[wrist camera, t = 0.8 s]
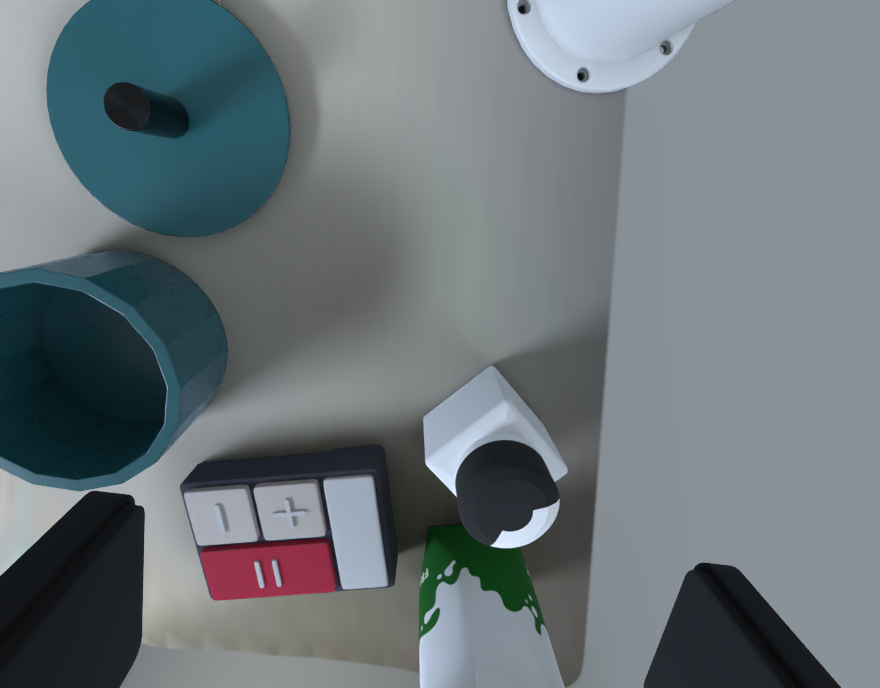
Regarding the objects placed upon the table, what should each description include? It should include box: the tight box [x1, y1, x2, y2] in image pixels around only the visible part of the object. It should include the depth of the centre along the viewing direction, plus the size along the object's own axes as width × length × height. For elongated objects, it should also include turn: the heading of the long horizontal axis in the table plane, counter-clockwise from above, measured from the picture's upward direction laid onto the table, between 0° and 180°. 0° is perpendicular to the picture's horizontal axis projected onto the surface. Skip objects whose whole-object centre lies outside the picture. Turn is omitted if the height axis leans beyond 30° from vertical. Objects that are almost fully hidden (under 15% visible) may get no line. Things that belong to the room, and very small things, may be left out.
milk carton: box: [419, 525, 564, 688], centre depth 35 cm, size 9×9×20 cm
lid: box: [47, 0, 290, 237], centre depth 30 cm, size 15×15×6 cm
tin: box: [0, 250, 228, 491], centre depth 33 cm, size 14×14×8 cm
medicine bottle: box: [423, 366, 567, 548], centre depth 35 cm, size 7×7×12 cm
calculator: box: [180, 446, 398, 600], centre depth 41 cm, size 11×4×15 cm
